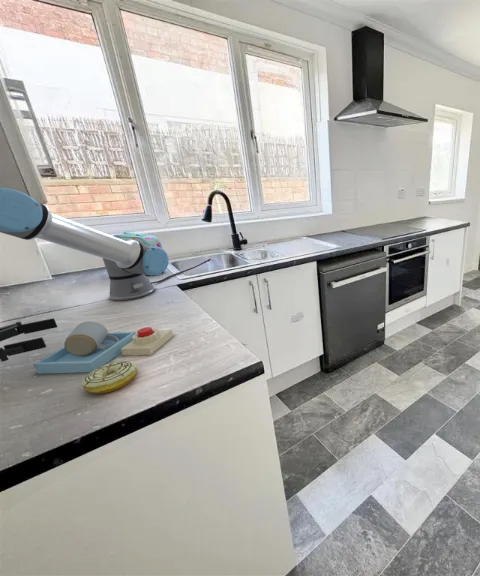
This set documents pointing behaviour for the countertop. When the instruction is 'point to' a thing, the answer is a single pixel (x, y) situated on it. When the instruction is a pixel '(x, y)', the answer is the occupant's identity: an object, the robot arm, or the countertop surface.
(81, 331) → the ceramic mug
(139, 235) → the lunch box
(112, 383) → the decorated donut
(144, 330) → the button
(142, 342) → the control block
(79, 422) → the countertop surface
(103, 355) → the shallow blue tray
